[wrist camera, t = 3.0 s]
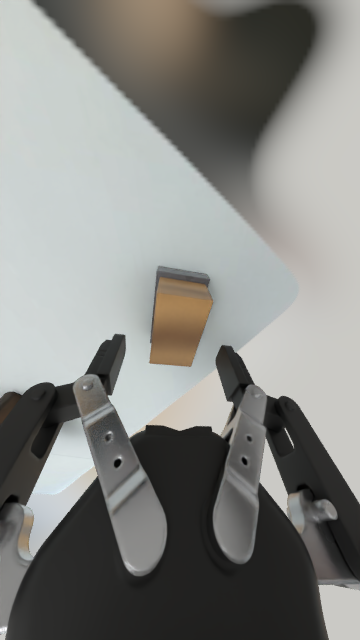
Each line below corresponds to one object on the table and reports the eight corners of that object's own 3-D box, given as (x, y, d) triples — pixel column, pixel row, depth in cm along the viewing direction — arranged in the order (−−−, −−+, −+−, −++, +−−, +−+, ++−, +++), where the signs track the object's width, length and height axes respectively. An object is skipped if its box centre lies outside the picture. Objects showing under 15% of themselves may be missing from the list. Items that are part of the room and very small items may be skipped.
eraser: (158, 265, 15) (153, 285, 11) (207, 274, 16) (219, 295, 11) (151, 335, 20) (146, 366, 16) (188, 339, 21) (192, 370, 17)
